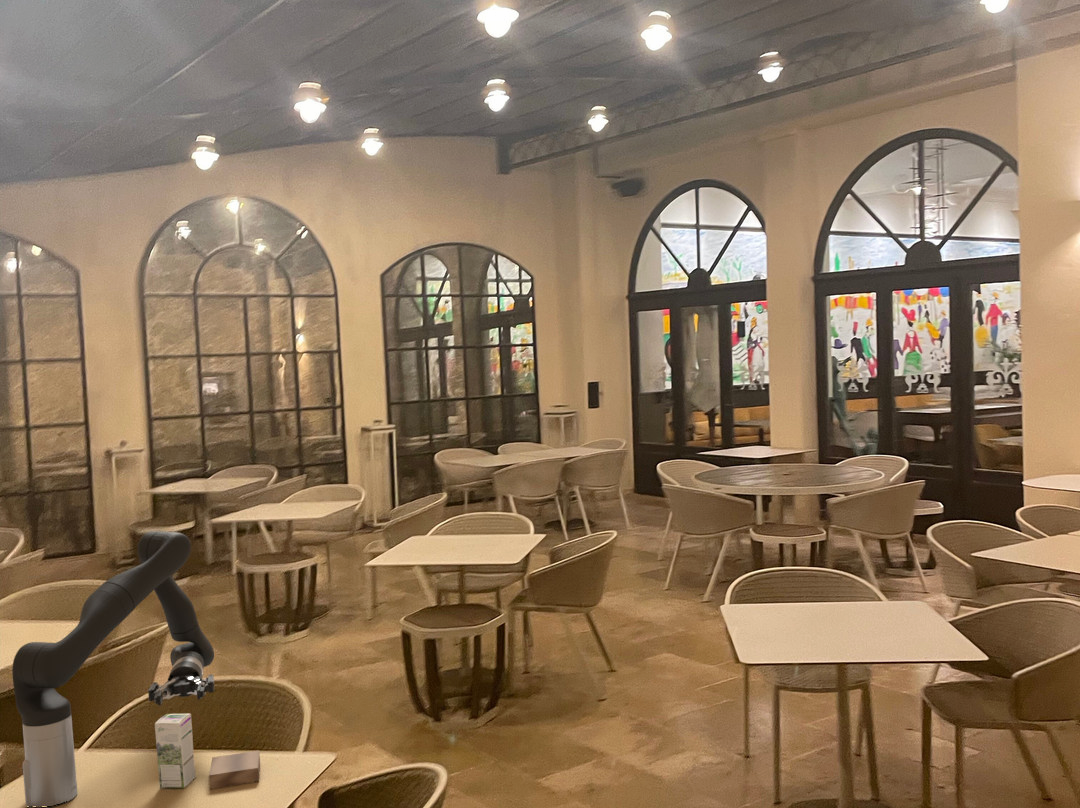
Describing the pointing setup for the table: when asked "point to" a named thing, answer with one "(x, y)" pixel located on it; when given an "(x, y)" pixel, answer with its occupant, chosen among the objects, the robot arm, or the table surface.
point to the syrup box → (175, 750)
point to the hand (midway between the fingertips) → (179, 698)
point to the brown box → (234, 769)
